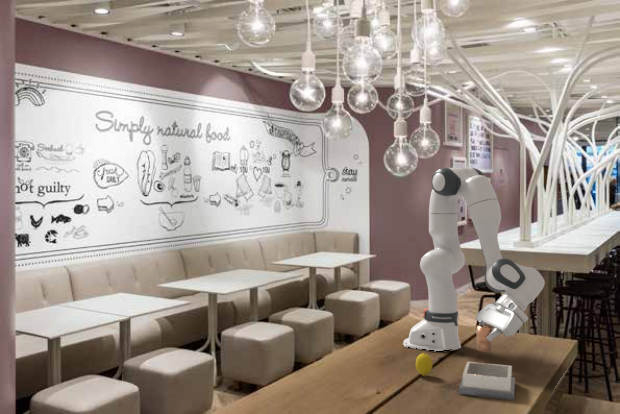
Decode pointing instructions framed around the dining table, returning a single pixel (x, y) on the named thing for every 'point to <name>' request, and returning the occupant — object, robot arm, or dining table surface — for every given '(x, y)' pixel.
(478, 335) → the copper upright cylinder
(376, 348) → the dining table surface
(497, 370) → the open square box
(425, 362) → the lemon
